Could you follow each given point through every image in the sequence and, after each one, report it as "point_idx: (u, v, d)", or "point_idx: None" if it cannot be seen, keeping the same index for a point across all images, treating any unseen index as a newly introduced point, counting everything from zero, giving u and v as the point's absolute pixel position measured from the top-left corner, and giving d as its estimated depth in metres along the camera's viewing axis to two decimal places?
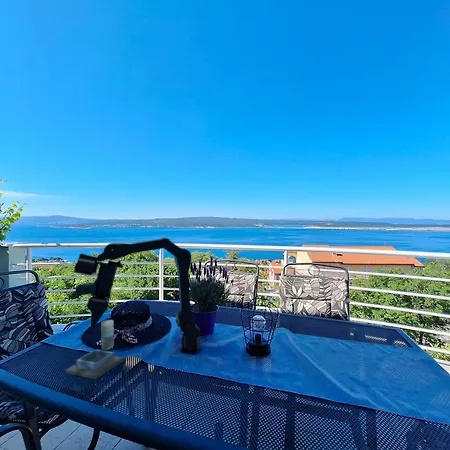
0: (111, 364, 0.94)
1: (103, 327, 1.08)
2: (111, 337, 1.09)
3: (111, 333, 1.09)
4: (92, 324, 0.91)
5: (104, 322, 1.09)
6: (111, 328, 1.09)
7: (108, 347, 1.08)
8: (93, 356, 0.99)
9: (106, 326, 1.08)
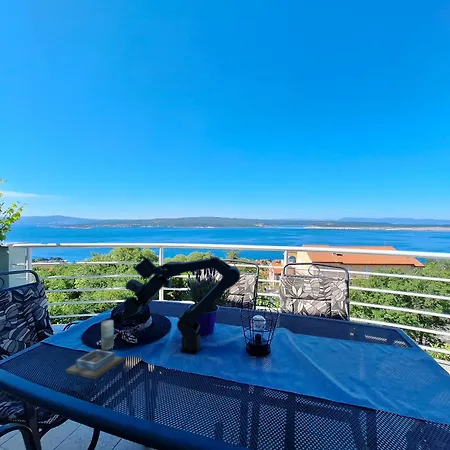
0: (111, 364, 0.94)
1: (103, 327, 1.08)
2: (111, 337, 1.09)
3: (111, 333, 1.09)
4: (121, 317, 1.04)
5: (104, 322, 1.09)
6: (111, 328, 1.09)
7: (108, 347, 1.08)
8: (93, 356, 0.99)
9: (106, 326, 1.08)
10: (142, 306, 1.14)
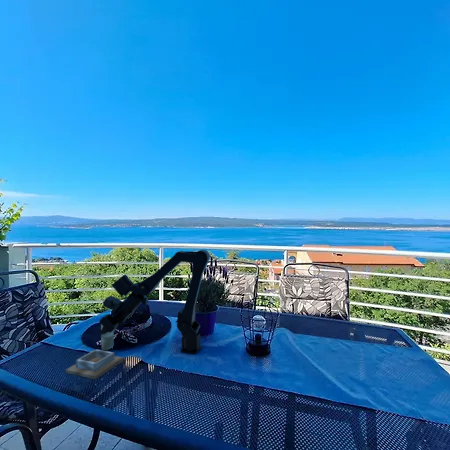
0: (111, 364, 0.94)
1: None
2: (111, 337, 1.09)
3: (111, 333, 1.09)
4: (101, 332, 1.07)
5: None
6: None
7: (108, 347, 1.08)
8: (93, 356, 0.99)
9: None
10: (118, 324, 1.12)
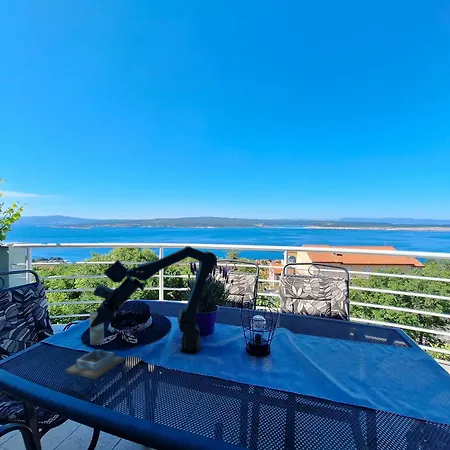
0: (111, 364, 0.94)
1: (93, 319, 0.97)
2: (102, 329, 0.99)
3: (102, 325, 0.99)
4: (92, 324, 0.96)
5: (93, 314, 0.98)
6: None
7: (99, 341, 0.97)
8: (93, 356, 0.99)
9: None
10: None
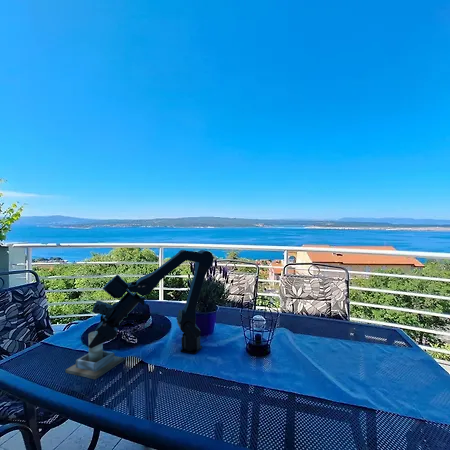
0: (111, 364, 0.94)
1: None
2: (102, 350, 0.95)
3: (102, 345, 0.95)
4: (91, 345, 0.91)
5: (93, 334, 0.94)
6: None
7: None
8: None
9: None
10: None
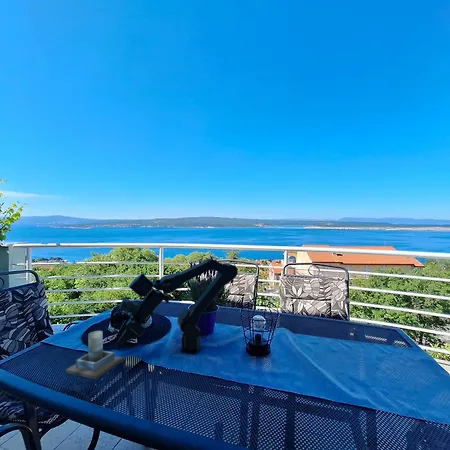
0: (111, 364, 0.94)
1: (93, 340, 0.93)
2: (102, 350, 0.95)
3: (102, 345, 0.95)
4: (119, 342, 0.93)
5: (92, 334, 0.94)
6: (101, 340, 0.95)
7: None
8: None
9: (97, 338, 0.94)
10: None
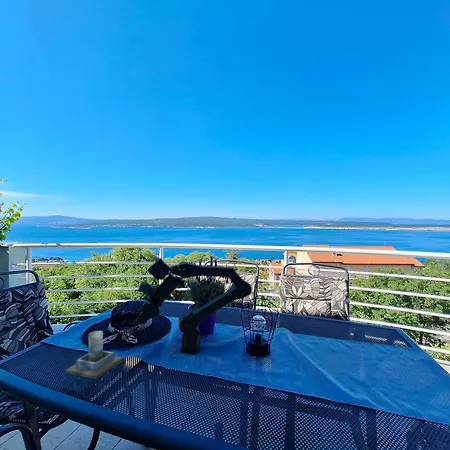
0: (111, 364, 0.94)
1: (93, 340, 0.93)
2: (102, 350, 0.95)
3: (102, 345, 0.95)
4: (136, 321, 0.98)
5: (93, 334, 0.94)
6: (102, 340, 0.95)
7: None
8: None
9: (97, 338, 0.94)
10: None
